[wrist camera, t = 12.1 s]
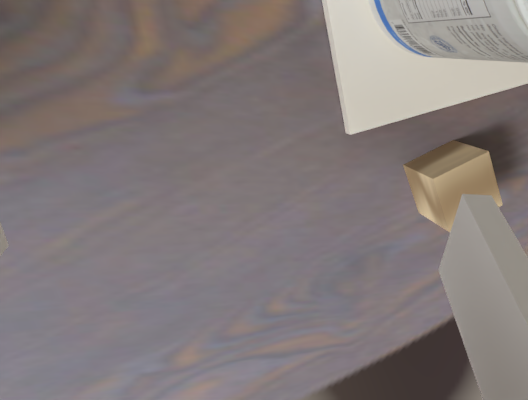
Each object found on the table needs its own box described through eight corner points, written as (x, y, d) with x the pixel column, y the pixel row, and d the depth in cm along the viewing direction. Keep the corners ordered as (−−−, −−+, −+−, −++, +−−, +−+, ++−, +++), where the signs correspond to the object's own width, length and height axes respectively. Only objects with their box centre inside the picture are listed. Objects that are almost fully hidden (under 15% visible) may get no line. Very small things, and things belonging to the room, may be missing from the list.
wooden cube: (402, 164, 34) (432, 179, 30) (454, 138, 34) (490, 150, 30) (418, 212, 35) (449, 232, 31) (468, 187, 35) (504, 203, 32)
